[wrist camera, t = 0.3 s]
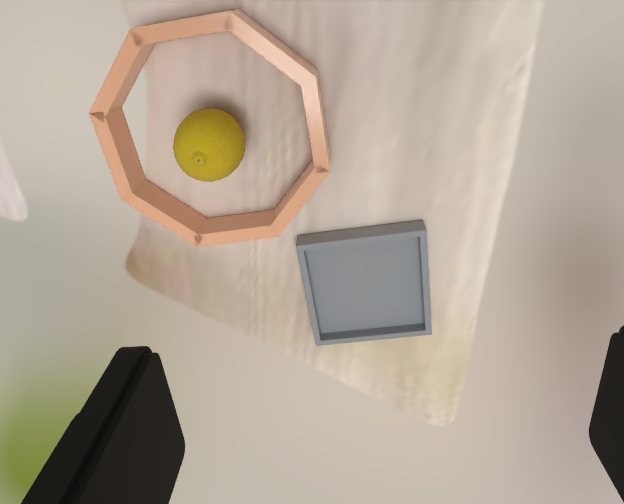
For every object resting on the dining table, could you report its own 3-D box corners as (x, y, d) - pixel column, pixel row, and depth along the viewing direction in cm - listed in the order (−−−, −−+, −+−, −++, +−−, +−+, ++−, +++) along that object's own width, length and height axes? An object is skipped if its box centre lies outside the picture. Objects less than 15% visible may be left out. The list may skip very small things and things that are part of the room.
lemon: (224, 173, 45) (204, 209, 38) (176, 131, 43) (145, 160, 36) (264, 131, 43) (251, 161, 36) (215, 85, 41) (191, 106, 34)
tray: (297, 235, 48) (296, 245, 46) (422, 219, 47) (426, 230, 45) (316, 332, 54) (315, 345, 52) (428, 321, 52) (431, 334, 50)
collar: (83, 36, 40) (62, 41, 37) (306, -4, 38) (303, -3, 35) (153, 236, 49) (140, 253, 46) (338, 212, 47) (338, 229, 43)
